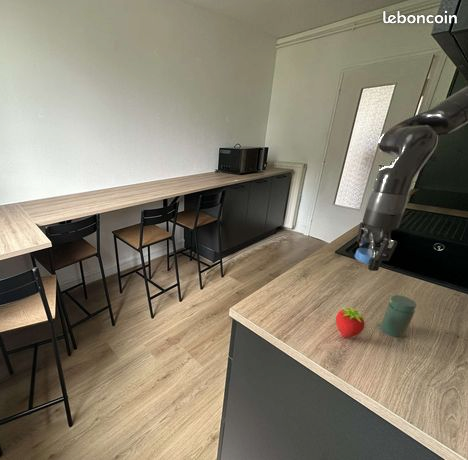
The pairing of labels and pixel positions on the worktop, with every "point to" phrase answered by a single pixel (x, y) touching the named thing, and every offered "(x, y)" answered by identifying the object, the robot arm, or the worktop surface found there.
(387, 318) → the jar
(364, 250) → the jar lid
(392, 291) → the worktop surface
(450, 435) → the worktop surface
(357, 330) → the strawberry
